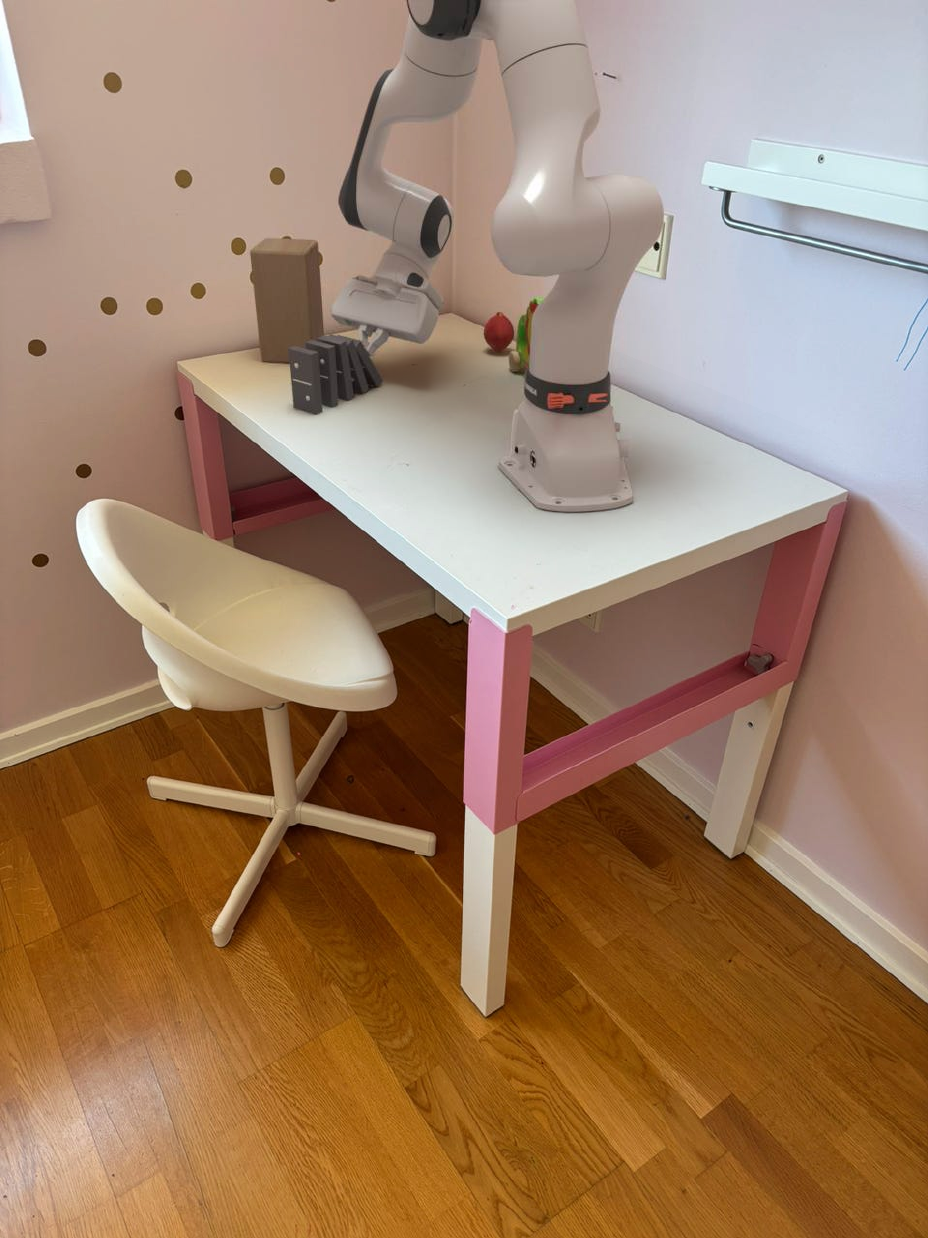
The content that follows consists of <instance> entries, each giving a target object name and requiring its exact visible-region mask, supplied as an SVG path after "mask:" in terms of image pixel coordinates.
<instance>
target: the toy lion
mask: <svg viewBox="0 0 928 1238" xmlns="http://www.w3.org/2000/svg"><path fill="white" fill-rule="evenodd" d="M545 297H546V296H545ZM545 297H534V298H533V299H532V300H530V302H529V304H528V306H527V308H526V311H525V312H526V313H525V314H522V315H521V316H520V317H519V320H518V324H517V330H516V345H515V346H516V348H515V350H512V351H510V352H509V355H508V364H509V370H510V371H511V373H517V372H520V369H522V370H523V369H524V370H525V372H524V375H523V380H524V379H525V376H526V369H527V368H528V367H529V359H530V341H531V323H532V317H533V314H534V312H535V310H536V308H537V306H538V305H539V304H540V303H541V302H542V300H543V299H544V298H545Z"/></svg>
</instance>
